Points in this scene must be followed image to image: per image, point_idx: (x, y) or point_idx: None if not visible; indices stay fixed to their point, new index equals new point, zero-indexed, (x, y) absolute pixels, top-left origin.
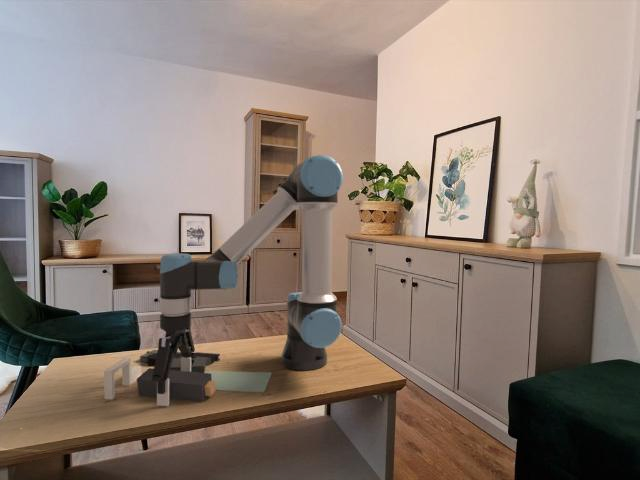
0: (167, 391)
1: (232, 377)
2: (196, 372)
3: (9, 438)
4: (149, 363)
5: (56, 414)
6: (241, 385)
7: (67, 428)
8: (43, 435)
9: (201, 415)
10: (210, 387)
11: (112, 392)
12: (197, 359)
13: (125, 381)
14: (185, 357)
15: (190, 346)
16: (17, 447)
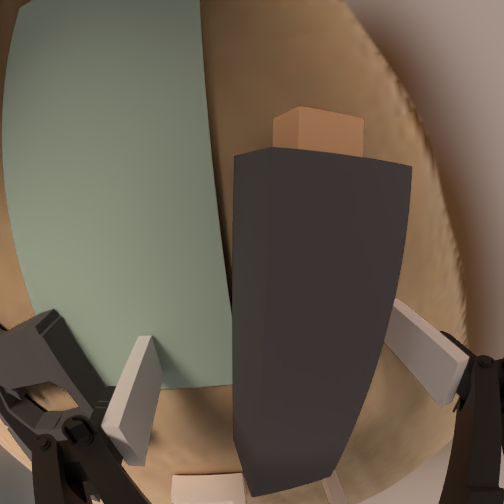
0: (433, 327)
1: (53, 133)
2: (269, 292)
3: (433, 453)
4: None
5: (376, 472)
6: (139, 38)
7: (431, 426)
8: (440, 432)
9: (421, 136)
10: (361, 118)
11: (334, 471)
12: (8, 377)
13: (244, 487)
14: (121, 451)
15: (67, 489)
16: None
